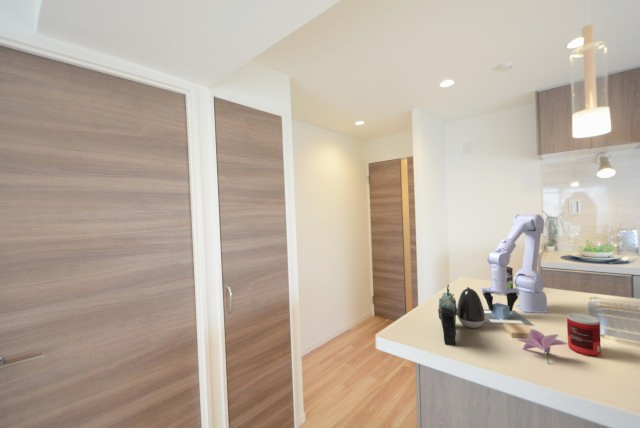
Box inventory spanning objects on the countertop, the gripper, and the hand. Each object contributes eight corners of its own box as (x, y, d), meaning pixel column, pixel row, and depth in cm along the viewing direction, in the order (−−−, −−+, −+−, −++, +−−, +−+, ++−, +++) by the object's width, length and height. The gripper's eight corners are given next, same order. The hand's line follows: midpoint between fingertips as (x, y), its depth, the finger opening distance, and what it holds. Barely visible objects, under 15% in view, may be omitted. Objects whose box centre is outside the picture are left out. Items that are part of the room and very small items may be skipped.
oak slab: (526, 331, 102) (525, 324, 102) (537, 341, 94) (537, 334, 94) (502, 329, 104) (502, 323, 104) (511, 339, 96) (511, 332, 96)
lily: (576, 365, 81) (563, 331, 85) (569, 365, 74) (556, 328, 78) (529, 363, 88) (520, 332, 93) (519, 363, 82) (510, 329, 86)
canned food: (590, 346, 89) (589, 313, 89) (607, 358, 81) (606, 323, 81) (562, 343, 91) (561, 312, 91) (576, 355, 84) (575, 321, 84)
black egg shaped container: (483, 321, 111) (481, 286, 111) (487, 332, 101) (485, 293, 101) (456, 318, 115) (454, 284, 115) (457, 328, 106) (456, 291, 106)
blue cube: (510, 317, 113) (509, 306, 113) (503, 320, 111) (502, 308, 111) (498, 313, 118) (497, 302, 118) (491, 315, 116) (490, 304, 116)
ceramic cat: (459, 349, 91) (456, 292, 90) (438, 345, 93) (436, 290, 93) (456, 325, 109) (454, 277, 108) (439, 323, 111) (437, 276, 111)
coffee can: (517, 295, 140) (516, 269, 140) (496, 295, 141) (495, 269, 141) (507, 289, 150) (506, 265, 150) (487, 289, 152) (486, 265, 151)
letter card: (514, 310, 121) (514, 310, 121) (534, 325, 105) (534, 325, 105) (471, 309, 125) (471, 308, 125) (484, 323, 109) (484, 323, 109)
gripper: (512, 276, 117) (513, 307, 117) (477, 276, 120) (478, 306, 120) (521, 281, 110) (522, 313, 110) (483, 281, 113) (485, 312, 113)
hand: (500, 310), depth 115 cm, fingers open, 7 cm apart
